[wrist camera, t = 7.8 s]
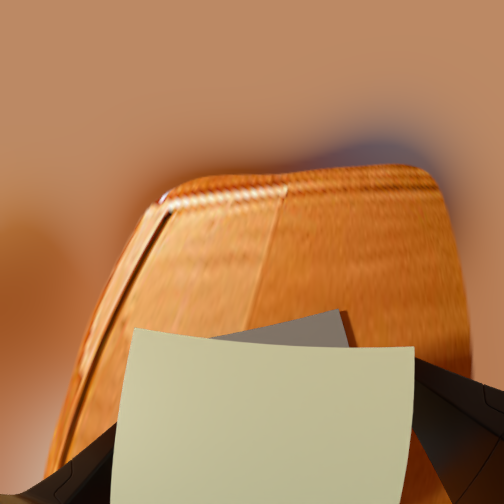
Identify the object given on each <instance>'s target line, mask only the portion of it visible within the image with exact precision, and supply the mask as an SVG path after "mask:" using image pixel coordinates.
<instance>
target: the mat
mask: <svg viewBox="0 0 504 504" xmlns="http://www.w3.org/2000/svg"><path fill="white" fill-rule="evenodd" d="M208 339H217V340H226V341H236V342H246V343H258V344H271V345H286V346H305V347H337V348H349V344H348V341H347V337H346V334H345V330H344V327H343V323H342V320H341V316H340V313H339V310H338V309H335V310H331V311H328V312H324V313H320V314H316V315H312V316H308V317H304V318H300V319H296V320H292V321H288V322H284V323H279V324H275V325H270V326H266V327H261V328H257V329H252V330H247V331H243V332H238V333H233V334H228V335H222V336H217V337H212V338H208Z"/></svg>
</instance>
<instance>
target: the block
mask: <svg viewBox="0 0 504 504" xmlns="http://www.w3.org/2000/svg"><path fill="white" fill-rule="evenodd" d="M413 400H414V347H384V348H337V347H305V346H286V345H271V344H258V343H246V342H236V341H226V340H217V339H208V338H200V337H192V336H185V335H178V334H171V333H165V332H158V331H152V330H146V329H140V328H134V332H133V337H132V341H131V346H130V351H129V356H128V361H127V366H126V371H125V377H124V382H123V388H122V394H121V400H120V407H119V414H118V421H117V428H116V437H115V445H114V455H113V466H112V479H111V496H110V504H399V503H400V498H401V494H402V489H403V484H404V478H405V473H406V467H407V460H408V453H409V445H410V437H411V427H412V415H413Z"/></svg>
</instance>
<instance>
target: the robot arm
mask: <svg viewBox="0 0 504 504" xmlns="http://www.w3.org/2000/svg"><path fill="white" fill-rule="evenodd" d="M116 428H117V422H116V423H115V424H114V425H113V426H112V427H110V428H109V429H108V430H107V431H106V432H104V433H103V434H102V435H101V436H100V437H98V438H97V439H96V440H95V441H94V442H92V443H91V444H90V445H89V446H88V447H86V448H85V449H84V450H83V451H82V452H80V453H79V454H78V455H77V456H75V457H74V458H73V459H72V460H70V461H69V462H68V463H67V464H65V465H64V466H63V467H62V468H60V469H59V470H58V471H56V472H55V473H53V474H52V475H50V476H49V477H47V478H46V479H44V480H43V481H41V482H40V483H38V484H36V485H35V486H33V487H32V488H30V489H28V490H27V491H25V492H23V493H20V494H16V495H5V494H0V504H110V496H111V479H112V466H113V455H114V445H115V437H116ZM412 428H413V430H414V432H415V433H416V435H417V437H418V439H419V441H420V442H421V444H422V446H423V448H424V450H425V452H426V453H427V455H428V457H429V459H430V461H431V463H432V465H433V467H434V469H435V470H436V472H437V474H438V476H439V478H440V480H441V482H442V484H443V486H444V488H445V490H446V492H447V494H448V496H449V498H450V500H451V502H452V504H504V391H501V390H498V389H496V388H493V387H490V386H487V385H485V384H484V385H483V384H482V383H479V382H476V381H474V380H471V379H469V378H466V377H463V376H461V375H458V374H456V373H453V372H451V371H448V370H446V369H443V368H441V367H438V366H436V365H433V364H431V363H428V362H426V361H423V360H421V359H418V358H416V357H414V400H413V415H412Z"/></svg>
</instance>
